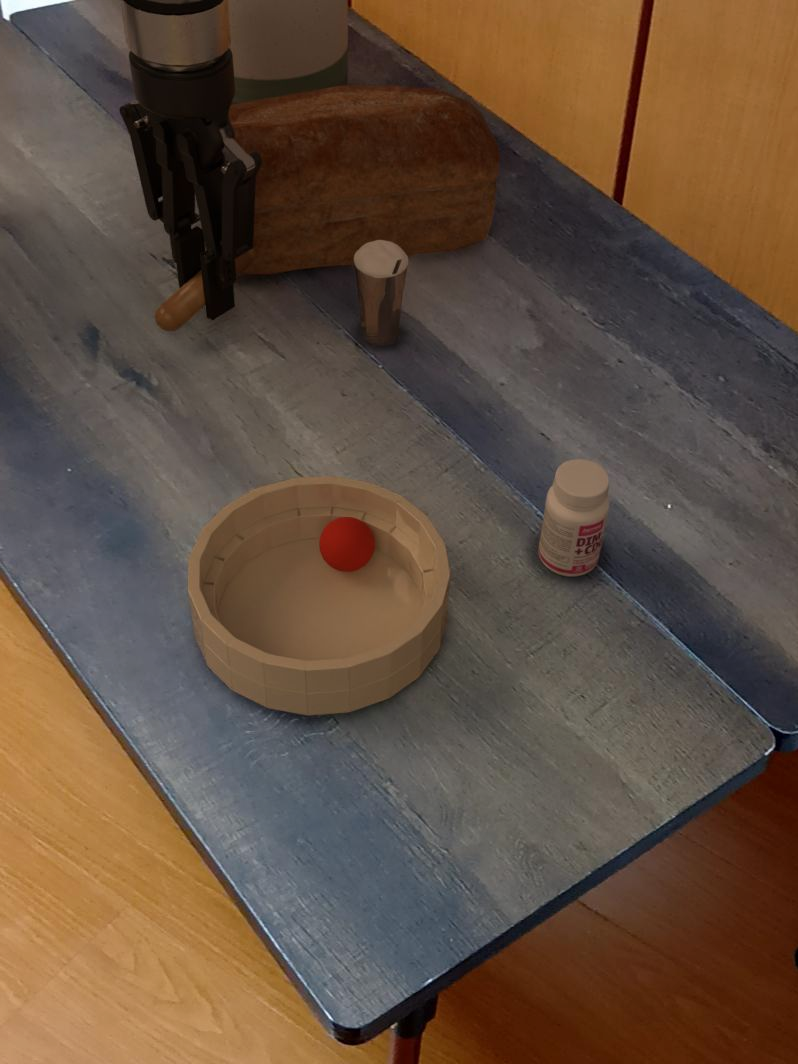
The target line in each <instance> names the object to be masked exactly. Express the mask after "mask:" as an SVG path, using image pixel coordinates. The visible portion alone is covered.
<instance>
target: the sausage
mask: <svg viewBox="0 0 798 1064" xmlns="http://www.w3.org/2000/svg"><path fill="white" fill-rule="evenodd" d="M255 257H256V250H255V247H254V246H253V248H252V249H251V250H249V251H248V252H246V253H244V254H243V255H241V256H239V257H238V258H236V259H235V267H236V278H238V276H240V274H241V273H242V272H243V271H244V270H245V269H246V268H247V267H248V266H250V265H251V264H252V263H253V262H254V260H255ZM202 308H205V298H204V290H203V281H202V272H201V270H200V271H199V272H198V273H197V274H196V275H194V276H193V277H192V278H191V279H190V280H189V281H188V282H186V283H185V284H184V285H183V286H182V287H181V288H180V289H179V288H178V289H177V290H176V291H175V292H174V293H173V294H172V295H170V296H169V297H168V298H167V299H166V300H164V301H163V302H162V303H161V304H160V305H159V306H158V307H157V308H156V310H155V312H154V320H155V323H156V325H157V326H158V327H159V328H160V329H161V330H164V331H165V332H175V331H177V330H179V329H180V328H181V327H182V326H184V325H185V324H186V323H187V322H188V321H189V320H190V319H191V318H193V317H194V316H195V315H196V314H197V313H198V312H199V311H201V310H202Z"/></svg>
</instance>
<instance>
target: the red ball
mask: <svg viewBox="0 0 798 1064" xmlns="http://www.w3.org/2000/svg"><path fill="white" fill-rule="evenodd" d="M319 548H320V552H321V555H322V557H323V559H324V560H325V562H326V563H327V564H328V565H329V566H331V567H332V568H334V569H336V570H339V571H343V572H351V571H356V570H358V569H360V568H362V567H363V566H365V565H366V564H367V563H368V562H369V560H370V559H371V557H372V555H373V553H374V548H375V541H374V536H373V533H372V531H371V530H370V528H369V527H368V526H367V525H366V524H365V523H364V522H362V521H361V520H359V519H356V518H353V517H341V518H338V519H335V520H333V521H332V522H330V523H329V524H328V525H327V526H326V527H325V528H324V530H323V532H322V534H321V536H320V541H319Z"/></svg>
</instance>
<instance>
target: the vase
mask: <svg viewBox="0 0 798 1064" xmlns="http://www.w3.org/2000/svg"><path fill="white" fill-rule="evenodd" d="M228 10H229V23H230V36H231V44H230V46H229V48H230V49H231V51H232V55H233V67H234V79H235V95H234V98H233V101H232V103H231V105H234V104H238V103H242V102H248V101H253V100H258V99H265V98H272V97H278V96H283V95H288V94H294V93H302V92H310V91H314V90H319V89H324V88H329V87H334V86H339V85H348V79H349V77H348V76H349V0H228Z"/></svg>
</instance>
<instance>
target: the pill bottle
mask: <svg viewBox="0 0 798 1064" xmlns="http://www.w3.org/2000/svg"><path fill="white" fill-rule="evenodd" d="M553 478H554V479H553V482H552V485H551V486H550V488H549V489H548V491H547V493H546V497H545V498H546V499H545V503H544V505H545V506H544V510H543V511H544V512H543V519H542V525H541V530H540V536H539V542H538V552H537V553H538V556H539V557H538V558H539V559H540V561H541V563H542V564H543V565H544V566H545V567H546V568H548V570H550V571H551V572H552V573H555V574H557V575H560V576H563V577H579V576H584V575H586V574H588V573H590V572H591V571H593V569H594V568H595V567H596V566H597V565H598V562H599V560H600V556H601V551H602V546H603V541H604V538H605V532H606V528H607V523H608V517H609V513H610V507H611V503H610V497H609V495H608V494H609V489H610V482H611V481H610V475H609V473H608V472H607V470H606V469H605V468H604V467H603V466H601V465H600V464H599V463H597V462H595V461H592V460H589V459H583V458H575V459H570V460H567V461H565V462H563V463H561V464H560V465H559V466H558V467H557V469H556V471H555V473H554V477H553Z"/></svg>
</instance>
